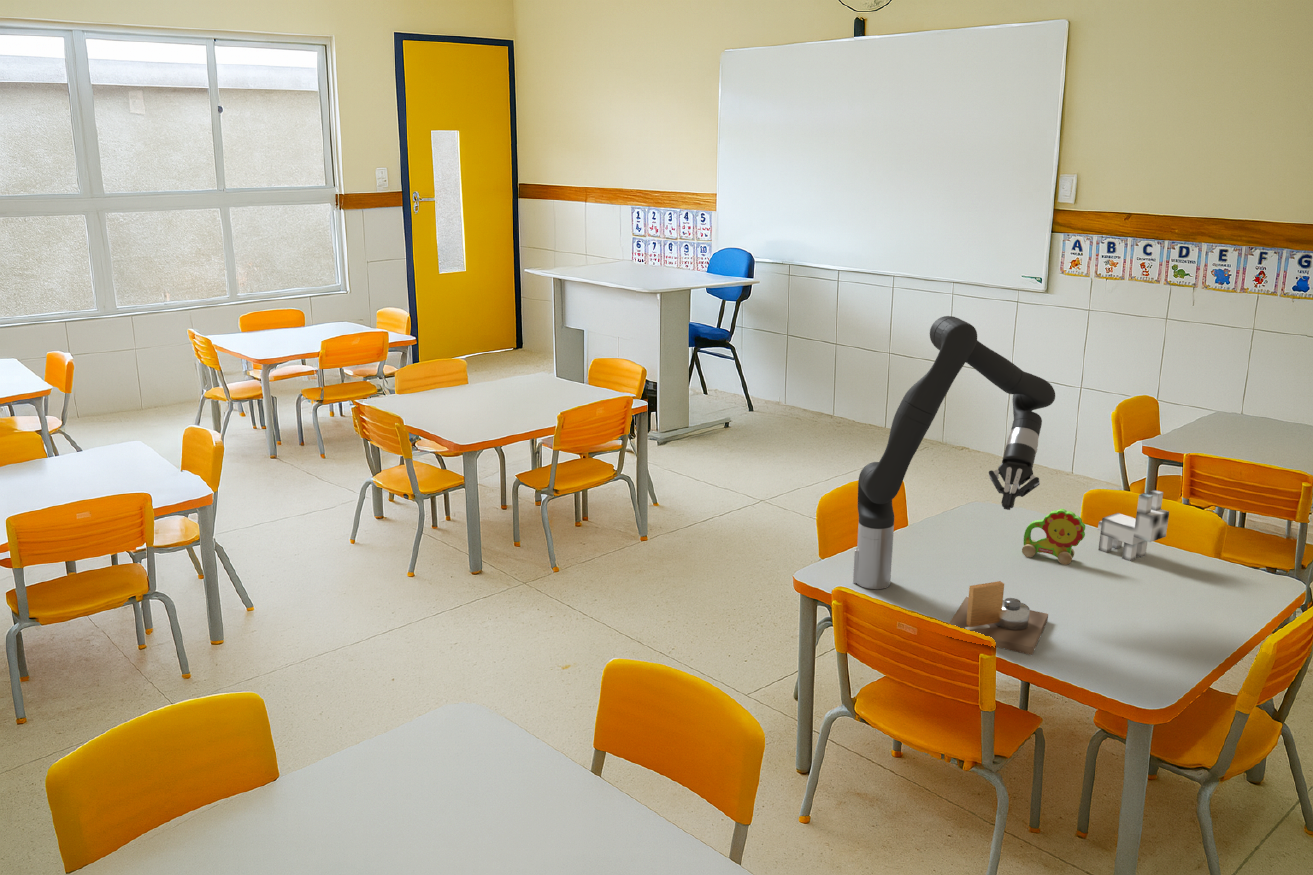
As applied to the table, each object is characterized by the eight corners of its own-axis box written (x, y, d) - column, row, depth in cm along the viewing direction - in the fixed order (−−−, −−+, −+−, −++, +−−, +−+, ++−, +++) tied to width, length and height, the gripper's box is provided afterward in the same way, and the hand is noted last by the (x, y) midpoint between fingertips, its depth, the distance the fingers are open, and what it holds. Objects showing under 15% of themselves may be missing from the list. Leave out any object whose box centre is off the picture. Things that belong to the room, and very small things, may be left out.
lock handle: (1014, 612, 244) (1018, 571, 241) (1035, 627, 237) (1039, 584, 234) (958, 622, 240) (961, 580, 237) (977, 636, 232) (981, 593, 229)
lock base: (945, 635, 238) (945, 626, 238) (965, 603, 255) (966, 595, 254) (1032, 655, 228) (1033, 646, 228) (1047, 621, 245) (1048, 612, 244)
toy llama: (1106, 542, 295) (1114, 478, 289) (1162, 561, 280) (1171, 494, 275) (1090, 547, 291) (1098, 482, 285) (1146, 567, 277) (1156, 499, 271)
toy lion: (1020, 556, 285) (1025, 506, 281) (1024, 550, 289) (1029, 501, 285) (1079, 567, 276) (1085, 516, 272) (1082, 561, 281) (1088, 511, 277)
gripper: (993, 438, 255) (978, 497, 249) (1047, 445, 249) (1033, 505, 242) (995, 453, 261) (981, 510, 254) (1048, 460, 255) (1035, 519, 248)
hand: (1006, 508), depth 248 cm, fingers closed
